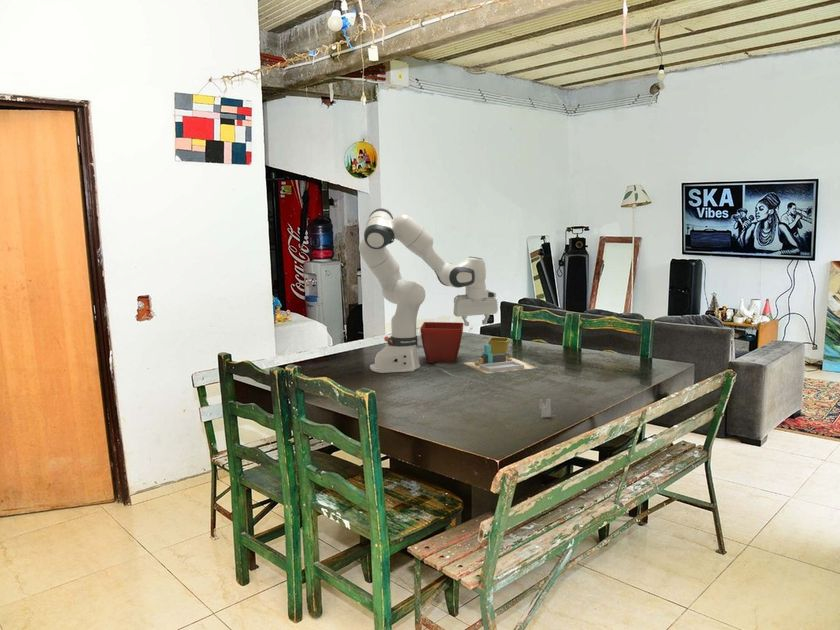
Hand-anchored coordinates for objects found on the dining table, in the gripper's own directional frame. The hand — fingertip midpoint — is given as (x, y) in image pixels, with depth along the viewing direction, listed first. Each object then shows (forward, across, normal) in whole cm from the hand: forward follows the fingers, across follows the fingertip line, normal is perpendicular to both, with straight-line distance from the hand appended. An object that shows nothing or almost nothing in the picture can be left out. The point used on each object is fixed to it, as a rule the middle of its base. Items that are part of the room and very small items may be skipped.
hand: (475, 325), depth 296 cm
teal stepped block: (+18, +6, 0) cm, 19 cm away
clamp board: (+19, +10, -4) cm, 22 cm away
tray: (+18, +8, -10) cm, 22 cm away
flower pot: (+20, +20, +15) cm, 32 cm away
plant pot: (+20, -7, +20) cm, 29 cm away
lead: (+18, +9, 0) cm, 20 cm away
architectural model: (+20, -14, -69) cm, 73 cm away
